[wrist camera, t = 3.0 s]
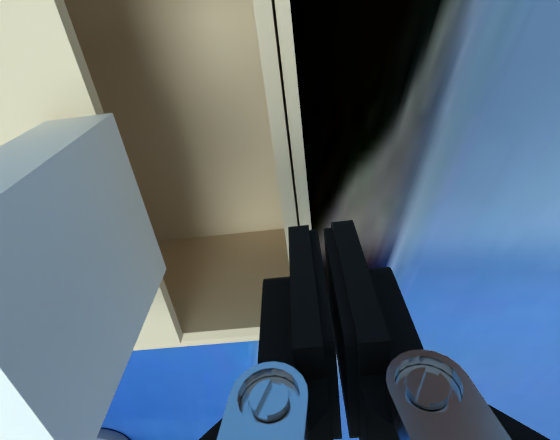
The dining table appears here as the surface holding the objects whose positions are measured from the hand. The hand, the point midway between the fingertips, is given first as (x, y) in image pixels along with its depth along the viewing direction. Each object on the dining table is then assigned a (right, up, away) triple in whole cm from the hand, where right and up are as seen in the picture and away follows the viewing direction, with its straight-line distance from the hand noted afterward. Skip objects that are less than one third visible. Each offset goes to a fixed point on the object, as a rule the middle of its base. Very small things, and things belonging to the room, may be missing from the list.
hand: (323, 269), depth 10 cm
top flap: (-10, +2, +6) cm, 12 cm away
